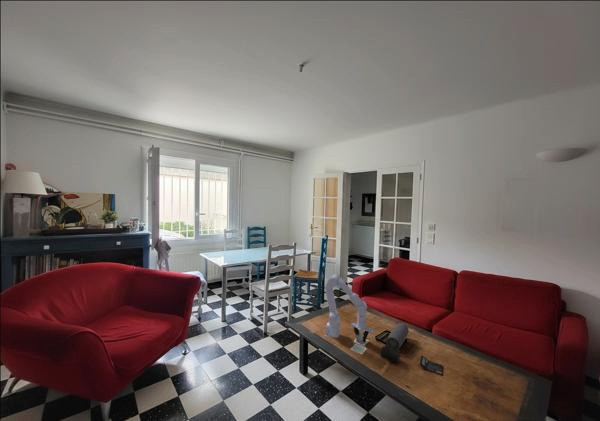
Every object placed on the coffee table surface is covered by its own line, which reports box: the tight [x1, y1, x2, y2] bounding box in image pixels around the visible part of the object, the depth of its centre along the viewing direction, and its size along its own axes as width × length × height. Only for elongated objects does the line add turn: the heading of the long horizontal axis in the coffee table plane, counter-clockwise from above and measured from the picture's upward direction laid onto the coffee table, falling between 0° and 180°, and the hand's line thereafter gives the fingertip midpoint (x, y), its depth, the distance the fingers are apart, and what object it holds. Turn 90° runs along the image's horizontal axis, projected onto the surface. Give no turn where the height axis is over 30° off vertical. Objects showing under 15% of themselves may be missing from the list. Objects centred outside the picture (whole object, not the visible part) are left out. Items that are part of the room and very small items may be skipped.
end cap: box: [380, 344, 401, 364], centre depth 150 cm, size 10×7×7 cm
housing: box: [355, 330, 365, 345], centre depth 166 cm, size 4×6×5 cm
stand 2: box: [349, 343, 368, 355], centre depth 158 cm, size 8×8×2 cm
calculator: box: [419, 354, 444, 376], centre depth 144 cm, size 9×12×3 cm
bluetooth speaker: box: [386, 322, 409, 350], centre depth 167 cm, size 23×9×10 cm, turn 143°
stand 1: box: [353, 338, 369, 347], centre depth 166 cm, size 8×8×2 cm
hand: (361, 339), depth 166 cm, fingers closed on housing, 4 cm apart
